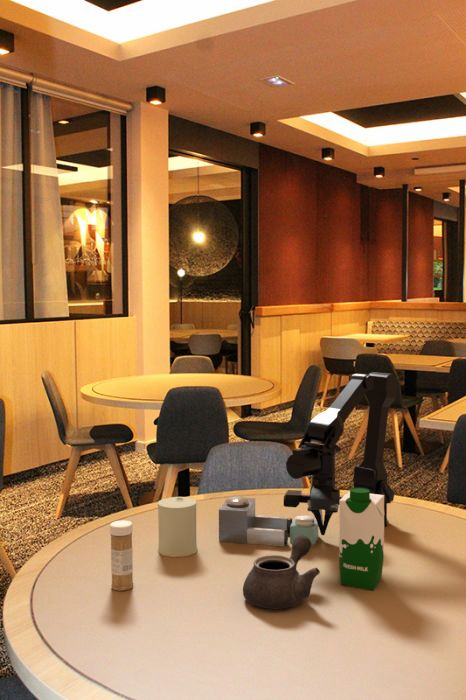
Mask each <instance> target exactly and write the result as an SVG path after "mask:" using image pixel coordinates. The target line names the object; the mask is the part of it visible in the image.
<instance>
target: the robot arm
mask: <svg viewBox="0 0 466 700" xmlns="http://www.w3.org/2000/svg"><path fill="white" fill-rule="evenodd" d="M396 376H397V375H395V374H393V373H387V372H377V371H375V372H374V371H372V372H370V373H368V374H367V373H357V372H356V373H354V374H352V375H351V377H350V380H349V382H348V383H347V384H346V385H345V387H344V388H343V390H342V391H341V392H340V393H339V394H338V396H337V397H336V399H335V400H334V401H333V402H332V403H331V405H330V406H329V407H328V408H327V410H325V411H323V412H320V413H318V414H317V415H316V416H314V418H313V419H311V421H309V422H308V425H307V428H306V430H305V432H304V433H303V436H302V439H301V440H300V442H299V445H298V448H293V449H292V454H290V455H289V456H288V457H287V460H286V462H285V469H286V472H287V474H288V475H289V476H290V477H291V478H292V479H295V480H298V479H302V478H306V477H311V479H310V481H311V483H310V484H311V486H310V489H309V494H303V490H298V489H297V490H296V489H294V490H293V489H287V490H286V492H285V494H284V496H283V507H286V508H297V507H298V506H299V505H300V503H301V504H307V512H311V513H312V514H313V515H314V519H315V520H316V521H317V523H318V526H319V532H320V534H321V536H325V535H326V532H327V529H328V526H329V523H330V520H331V518H332V515H333V514H337V513H338V512H339V500H340V499H341V498H342V497H343V496H341V491H340V490H341V489H340V488H336V453H339V452H341V451H342V448H341V447H340V446H338V443H339V440H340V438H341V437H342V435H343V433H344V430H345V422H346V420H347V419H348V418H349V416H351V414H352V413H353V411H354V409H355V408H356V407H357V406H358V405H359V403H360V401H361V400H362V399H363V398H364V396H365V399H366V400H367V403H368V407H369V408H368V414H367V415H368V416H367V423H366V435H365V442H364V443H365V445H364V449H363V450H364V451H363V452H364V453H363V459H362V462H360V463H359V465H358V466H357V465H356V466H354V468H353V478H352V482H353V488H366V489H369V490H370V494H379V495H384V514H385V515H384V527H388V514H387V512H388V504H392V502H393V501H394V498H395V492H394V490H393V489H392V487H391V486H390V485H389V484H388V472H387V469H386V468H385V465H384V462H383V461H384V454H385V453H384V452H385V446H386V445H385V443H386V437H387V427H388V426H387V425H388V416H389V408H390V407H391V406H392V404H393V403H394V402H395V400H396V399H397V395H398V392H399V391H398V390H399V386H400V383H399V379H398V378H397V377H396ZM347 493H348V492H346V493H345V494H347ZM323 510H324V518H323Z"/></svg>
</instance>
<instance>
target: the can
mask: <svg viewBox="0 0 466 700" xmlns="http://www.w3.org/2000/svg"><path fill="white" fill-rule="evenodd" d="M197 504H198V503H197V500H196V499H194V498H191V497H186V496H170V497H166V498H162V499H160V500H158V502H157V512H158V514H157V515H158V519H157V520H158V547H157V551H158V553H159V554H161V555H162V556H165V557H171V558H183V557H188V556H191V555H194V554H195V553H196V552H197V551H198V546H197V541H198V540H197Z"/></svg>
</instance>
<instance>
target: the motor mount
mask: <svg viewBox="0 0 466 700" xmlns="http://www.w3.org/2000/svg"><path fill="white" fill-rule="evenodd" d="M292 522H293V518H291V517H290V516H289V517H286V516H285V517H284V516H274V515H273V516H271V515H256V498H253V497H244V496H228V497H227V498H226V499H225V501H224V502H223V503H222V504H221V506H220V507H219V509H218V542H220V543H231V544H233V543H234V544H247V545H248V544H249V545H264V546H274V547H275V546H276V547H277V546H278V547H279V546H280V547H285V546H288V545H289V536H288V535H290V526H291V524H292Z"/></svg>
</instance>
